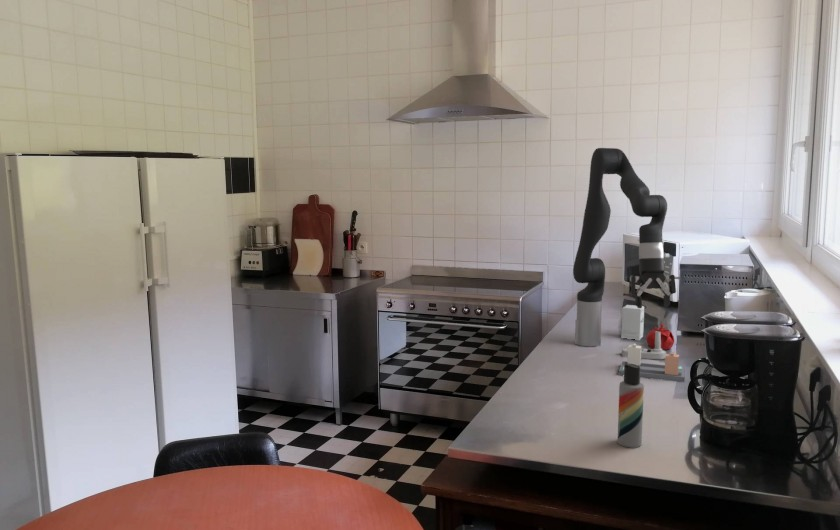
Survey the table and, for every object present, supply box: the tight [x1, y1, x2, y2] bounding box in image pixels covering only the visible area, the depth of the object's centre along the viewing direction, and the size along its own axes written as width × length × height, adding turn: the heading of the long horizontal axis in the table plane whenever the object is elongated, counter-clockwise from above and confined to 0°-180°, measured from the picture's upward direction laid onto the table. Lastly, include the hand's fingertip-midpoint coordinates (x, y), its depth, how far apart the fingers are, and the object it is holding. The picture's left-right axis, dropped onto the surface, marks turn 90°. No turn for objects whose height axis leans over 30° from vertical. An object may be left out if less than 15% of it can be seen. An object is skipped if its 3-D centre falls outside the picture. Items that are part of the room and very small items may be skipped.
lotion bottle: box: [617, 364, 645, 449], centre depth 163 cm, size 6×6×20 cm
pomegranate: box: [645, 323, 675, 351], centre depth 250 cm, size 10×10×9 cm
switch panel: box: [618, 360, 686, 382], centre depth 220 cm, size 20×12×2 cm, turn 68°
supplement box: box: [620, 304, 645, 341], centre depth 266 cm, size 7×7×13 cm
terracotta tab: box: [664, 351, 680, 375], centre depth 214 cm, size 4×3×7 cm
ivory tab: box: [627, 342, 642, 366], centre depth 225 cm, size 4×3×7 cm
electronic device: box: [621, 331, 667, 360], centre depth 239 cm, size 5×10×15 cm
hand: (652, 307), depth 214 cm, fingers open, 8 cm apart
